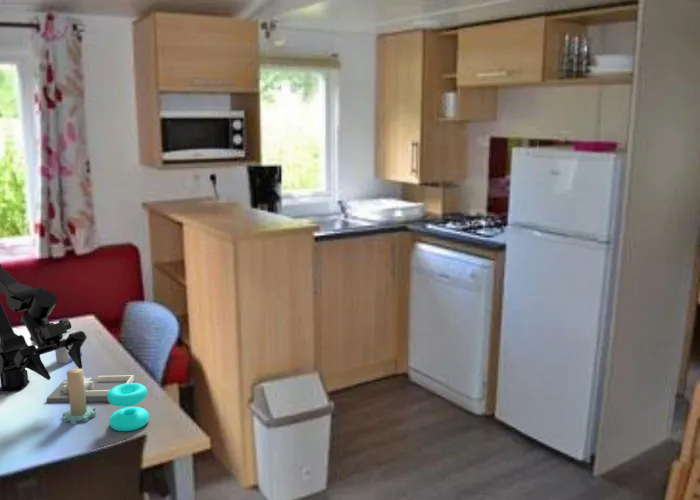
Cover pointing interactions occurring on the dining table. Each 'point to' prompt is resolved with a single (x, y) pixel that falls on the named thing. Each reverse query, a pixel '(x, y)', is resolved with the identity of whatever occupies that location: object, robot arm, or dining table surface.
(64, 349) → the medicine box
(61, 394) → the carrier plate
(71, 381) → the gear
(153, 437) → the dining table surface
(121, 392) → the donuts
